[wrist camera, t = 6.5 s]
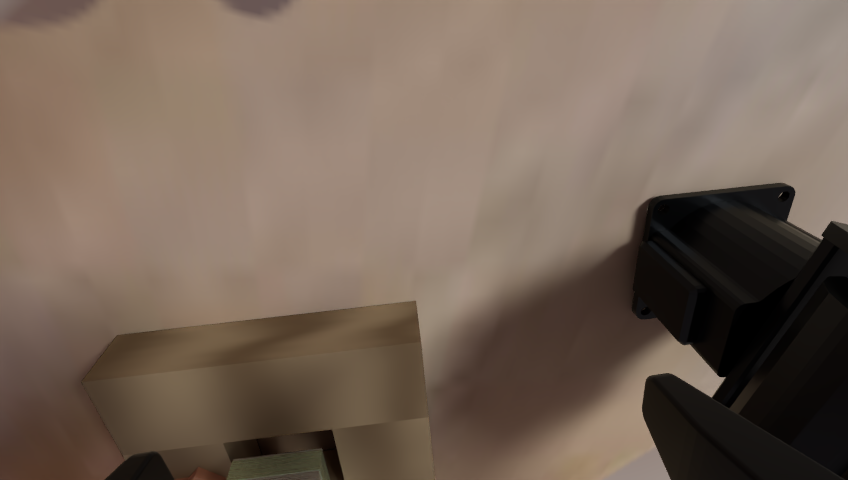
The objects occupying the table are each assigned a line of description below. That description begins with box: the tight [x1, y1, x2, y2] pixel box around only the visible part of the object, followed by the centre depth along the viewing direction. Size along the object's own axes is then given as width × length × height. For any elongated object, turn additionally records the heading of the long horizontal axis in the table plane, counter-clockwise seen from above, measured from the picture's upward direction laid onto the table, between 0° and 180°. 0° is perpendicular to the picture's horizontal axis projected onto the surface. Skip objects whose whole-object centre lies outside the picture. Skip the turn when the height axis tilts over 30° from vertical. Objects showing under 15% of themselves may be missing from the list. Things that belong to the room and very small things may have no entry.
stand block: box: [81, 301, 435, 480], centre depth 24 cm, size 14×14×4 cm
